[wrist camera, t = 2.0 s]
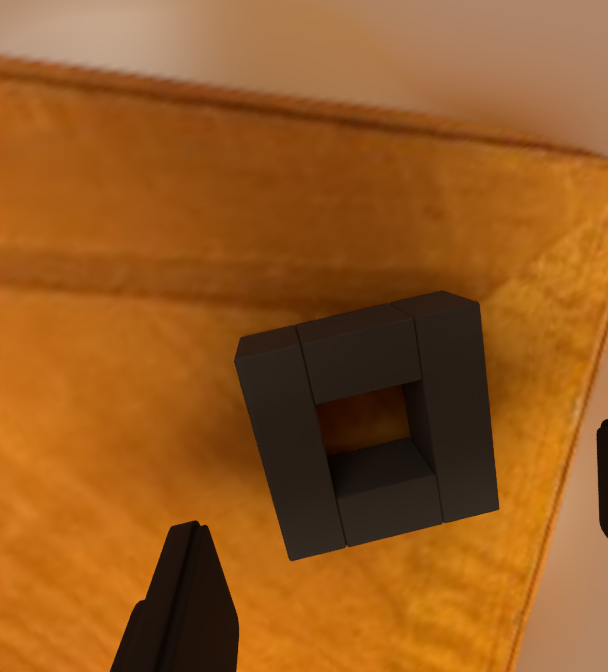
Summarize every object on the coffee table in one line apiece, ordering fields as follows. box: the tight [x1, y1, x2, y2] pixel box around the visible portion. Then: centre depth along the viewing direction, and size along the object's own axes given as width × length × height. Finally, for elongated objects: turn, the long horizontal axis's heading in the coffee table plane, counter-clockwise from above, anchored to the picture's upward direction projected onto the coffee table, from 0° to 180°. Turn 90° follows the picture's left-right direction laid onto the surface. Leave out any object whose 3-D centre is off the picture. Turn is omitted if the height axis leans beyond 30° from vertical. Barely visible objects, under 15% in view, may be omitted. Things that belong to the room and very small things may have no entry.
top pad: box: [234, 291, 499, 561], centre depth 13 cm, size 7×7×2 cm
